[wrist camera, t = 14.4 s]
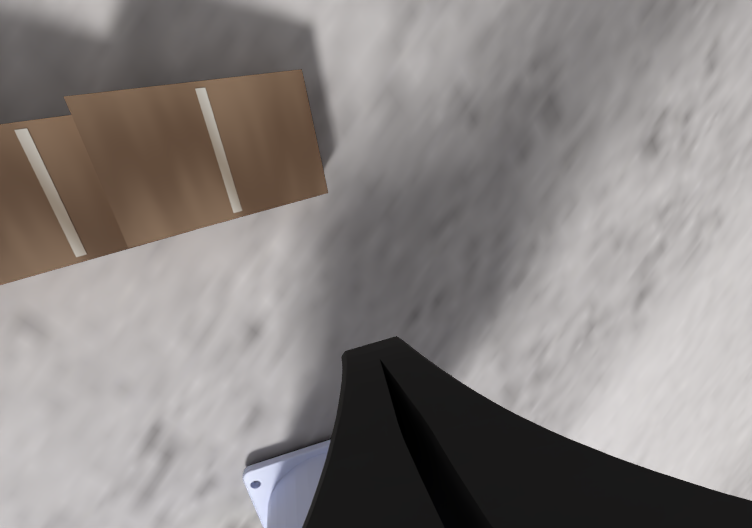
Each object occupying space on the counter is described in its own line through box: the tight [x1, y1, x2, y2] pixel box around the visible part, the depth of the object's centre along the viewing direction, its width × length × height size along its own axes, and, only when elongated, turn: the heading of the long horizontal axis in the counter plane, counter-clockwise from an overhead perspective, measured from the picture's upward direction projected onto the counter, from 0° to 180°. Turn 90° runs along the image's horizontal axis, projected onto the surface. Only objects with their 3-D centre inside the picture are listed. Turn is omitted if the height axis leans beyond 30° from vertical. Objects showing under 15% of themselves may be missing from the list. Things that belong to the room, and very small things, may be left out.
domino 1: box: [0, 115, 193, 285], centre depth 13 cm, size 4×2×7 cm
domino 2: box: [64, 69, 328, 248], centre depth 14 cm, size 4×2×7 cm
